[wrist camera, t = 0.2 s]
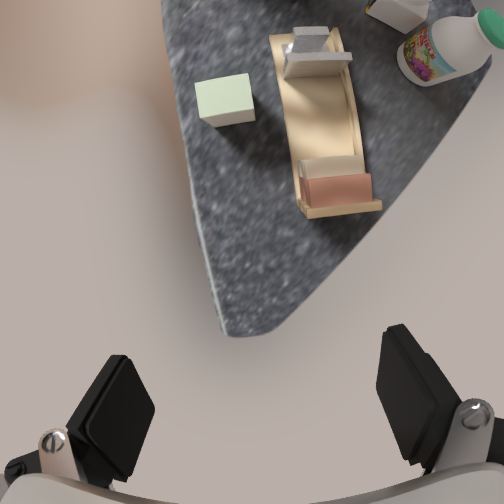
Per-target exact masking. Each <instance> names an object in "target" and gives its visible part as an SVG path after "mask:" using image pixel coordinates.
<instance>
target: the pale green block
mask: <svg viewBox="0 0 504 504" xmlns="http://www.w3.org/2000/svg"><path fill="white" fill-rule="evenodd" d="M195 88H196V95H197V102H198V108H199V115H200V119H202V120H203V121H205V122H207V123H208V124H210V125H211V126H213V127H220V126H225V125H231V124H237V123H243V122H249V121H255V120H256V119H255V112H254V105H253V100H252V94H251V88H250V82H249V77H248V73H246V74H240V75H234V76H228V77H222V78H217V79H212V80H207V81H203V82H198V83H195Z"/></svg>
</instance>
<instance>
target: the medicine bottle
mask: <svg viewBox="0 0 504 504" xmlns="http://www.w3.org/2000/svg"><path fill="white" fill-rule="evenodd" d="M431 1H432V0H369V3H368V6H367V9H366V14H368V15H370V16H372V17H374V18H376V19H378V20H380V21H382V22H384V23H386V24H388V25H389V26H391V27H393V28H395V29H397V30H398V31H400V32H402V33H403V34H407V33H408V32H410V31H411V30H412V29H414V28H415V27H417V26H418V25H419V24H421V23H422V22H424V21H425V20H426V18H427V13H428V7H429V3H430V2H431Z"/></svg>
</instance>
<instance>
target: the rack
mask: <svg viewBox="0 0 504 504" xmlns="http://www.w3.org/2000/svg"><path fill="white" fill-rule="evenodd" d="M329 33H330V35H329V37H328V39H327V40H326V43H327V47H328V51H329V52H344V48H343V45H342V41H341V37H340V33H339V30H338V28H335V27H333V29H332V31H331V32H329ZM291 35H292V33H291V34H278V35H269V40H270V44H271V49H272V54H273V59H274V64H275V69H276V74H277V79H278V85H279V90H280V96H281V101H282V107H283V113H284V119H285V125H286V131H287V137H288V143H289V150H290V157H291V163H292V170H293V177H294V185H295V192H296V200H297V205H298V207H299V208H300V209H301V211H302V212H303V213H304V214H305V216H306V217H307V218H308V219H312V218H320V217H327V216H335V215H343V214H352V213H360V212H369V211H377V210H382V201H381V200H378V199H376V198H373V197H372V185H371V174H368V173H365V166H364V157H363V149H362V141H361V134H360V128H359V121H358V115H357V109H356V104H355V98H354V93H353V88H352V83H351V78H350V74H349V69H348V65H347V66H346V67H345V68H344V69H343V70H342V71H341V72H340V73H339V74H338V76H319V77H302V78H289V79H283V75H282V70H283V66H284V57H283V52H282V48H281V45H282V44H289V42H290V39H291Z"/></svg>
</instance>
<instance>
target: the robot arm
mask: <svg viewBox="0 0 504 504" xmlns="http://www.w3.org/2000/svg"><path fill="white" fill-rule="evenodd" d="M376 390H377V394H378V396H379V398H380V401H381V403H382V406H383V408H384V411H385V413H386V416H387V418H388V420H389V423H390V426H391V428H392V431H393V433H394V436H395V439H396V441H397V444H398V446H399V449H400V452H401V455H402V457H403V459H404V460H408V461H409V463H410V466H412V465H414V464H417V463H421V466H422V468H424V470H423V472H422V474H421V476H420V477H419V478H416V479H412V480H409V481H406V482H403V483H400V484H397V485H394V486H390V487H387V488H384V489H380V490H376V491H372V492H368V493H364V494H360V495H355V496H351V497H346V498H341V499H336V500H331V501H325V502H319V503H312V504H504V419H501V418H496V417H494V411H493V408H492V407H491V405H490V404H489V403H487V402H486V401H484V400H481V399H473V398H472V399H468V400H466V401H464V402H462V401H461V399H460V398H459V396H458V395H457V393H456V392H455V390H454V389H453V387H452V386H451V384H450V383H449V381H448V380H447V378H446V377H445V375H444V374H443V373H442V371H441V370H440V368H439V367H438V365H437V364H436V362H435V361H434V360H433V358H432V357H431V356H430V355H429V354H428V353H425V352H424V351H423V349H422V348H421V347H420V345H419V344H418V343H417V341H416V340H415V339H414V337H413V336H412V335H411V333H410V332H409V330H408V329H407V328H406V326H405V325H404V324H398V325H394V326H390V327H388V328H387V331H386V332H383V336H382V344H381V353H380V362H379V368H378V375H377V382H376ZM154 413H155V407H154V404H153V402H152V400H151V398H150V396H149V395H148V393H147V391H146V389H145V387H144V385H143V383H142V381H141V379H140V377H139V375H138V373H137V371H136V369H135V367H134V364H133V362H132V361H131V359H128V357H127V356H126V355H111V356H110V358H109V359H108V360H107V362H106V363H105V365H104V367H103V368H102V369H101V371H100V372H99V374H98V375H97V377H96V379H95V380H94V382H93V383H92V385H91V386H90V388H89V389H88V391H87V392H86V394H85V396H84V397H83V399H82V401H81V402H80V404H79V405H78V407H77V408H76V410H75V412H74V413H73V415H72V416H71V418H70V420H69V421H68V423H67V425H66V428H67V429H68V432H67V433H66V432H65V431H64V430H61V429H51V430H49V431H47V432H46V433H45V434H43V436H42V437H41V438H40V441H39V445H38V448H39V450H36V451H34V452H31V453H28V454H26V455H23V456H20V457H18V458H15V459H13V460H11V461H10V462H9V463H8V464H7V466H6V468H5V471H4V472H5V473H4V475H5V476H4V475H3V474H1V475H0V504H176V503H169V502H162V501H157V500H151V499H146V498H141V497H136V496H132V495H128V494H124V493H120V492H116V491H115V489H114V487H113V485H112V480H113V479H114V480H118V481H122V482H127V479H128V477H130V476H131V475H132V473H133V470H134V467H135V465H136V462H137V459H138V457H139V454H140V451H141V448H142V445H143V443H144V440H145V437H146V434H147V432H148V429H149V426H150V424H151V421H152V418H153V416H154Z"/></svg>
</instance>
